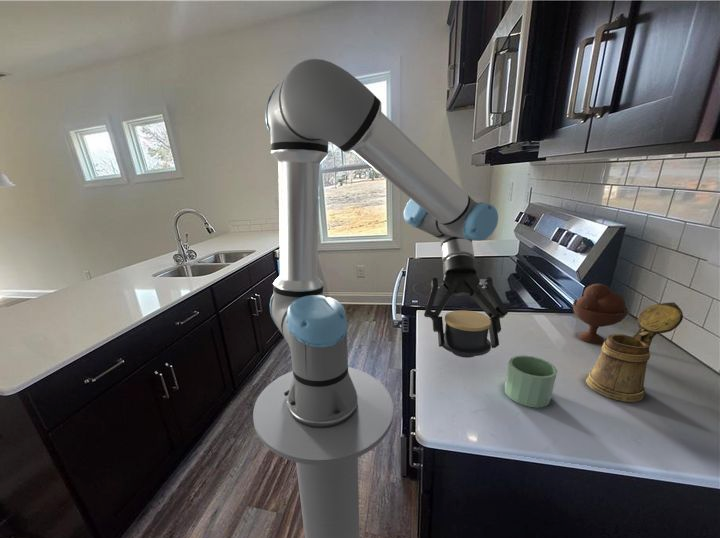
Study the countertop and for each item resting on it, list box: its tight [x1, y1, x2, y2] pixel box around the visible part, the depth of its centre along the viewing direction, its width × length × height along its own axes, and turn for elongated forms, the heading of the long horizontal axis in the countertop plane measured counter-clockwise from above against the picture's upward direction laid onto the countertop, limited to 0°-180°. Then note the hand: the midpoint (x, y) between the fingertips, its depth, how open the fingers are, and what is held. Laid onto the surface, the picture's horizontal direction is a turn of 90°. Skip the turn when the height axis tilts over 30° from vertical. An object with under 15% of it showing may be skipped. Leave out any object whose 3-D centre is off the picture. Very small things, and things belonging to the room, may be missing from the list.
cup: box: [504, 354, 558, 408], centre depth 65 cm, size 8×8×7 cm
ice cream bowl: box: [572, 283, 629, 345], centre depth 82 cm, size 11×11×15 cm
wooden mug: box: [585, 301, 684, 403], centre depth 63 cm, size 9×14×18 cm, turn 103°
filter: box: [442, 309, 492, 359], centre depth 74 cm, size 11×11×9 cm
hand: (468, 345), depth 72 cm, fingers closed on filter, 11 cm apart
